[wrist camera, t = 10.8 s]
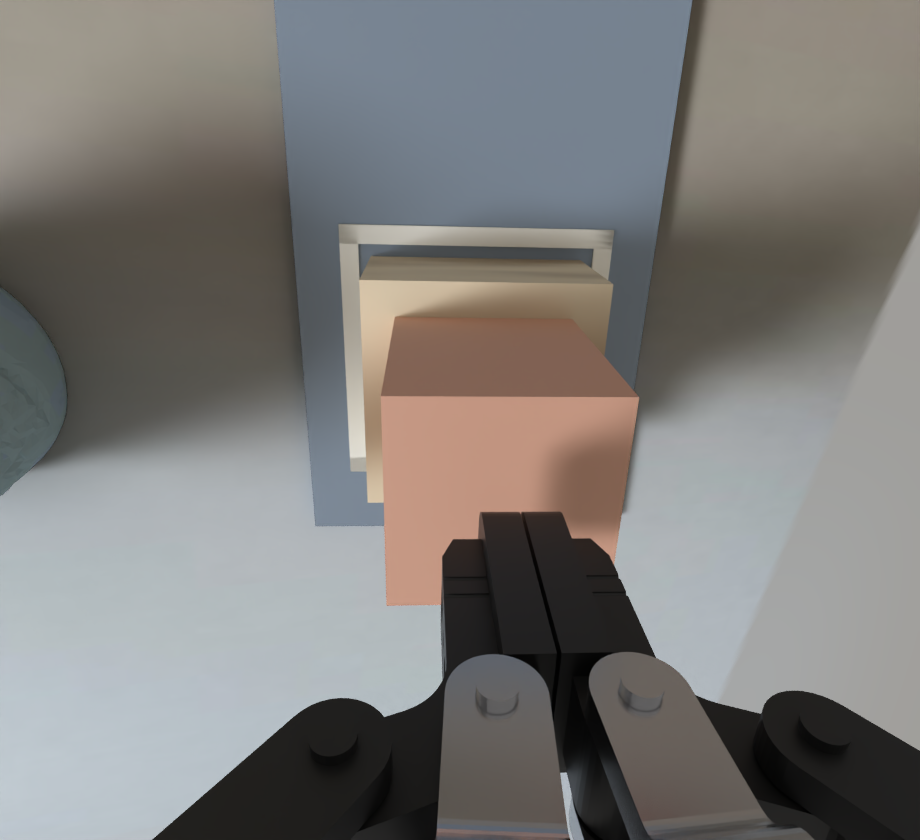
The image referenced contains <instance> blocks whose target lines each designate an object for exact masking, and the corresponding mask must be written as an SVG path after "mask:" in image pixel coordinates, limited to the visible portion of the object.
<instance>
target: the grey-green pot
mask: <svg viewBox="0 0 920 840" xmlns="http://www.w3.org/2000/svg"><path fill="white" fill-rule="evenodd" d="M66 410H67V390H66V382H65V377H64V372H63V368H62V365H61V362H60V359H59V356H58V354H57V352H56V350H55V348H54V346H53V344H52V343H51V341H50V339H49V337H48V336H47V334H46V332H45V331H44V330H43V328H42V327H41V326H40V324H39V323H38V322H37V321H36V319H35V318H34V317H33V316H32V315H31V314H30V313H29V312H28V311H27V310H26V308H25V307H24V306H23V305H22V304H21V303H20V302H19V301H17V300H16V299H15V298H14V297H13V296H11V295H10V294H9V293H8V292H7V291H5V290H4V289H2V288H1V287H0V496H1V495H3V494H4V493H5V492H6V491H7V490H8V489H10V487H11V486H12V485H13V483H15V482H16V481H17V480H19V479H20V478H21V477H22V476H23V475H25V474H26V473H27V472H28V471H29V470H30V469H31V468H32V467H33V466H34V465H35V464H36V463H37V462H38V461H39V460H40V459H42V458H43V457H44V455H45V454H46V453H47V452H48V450H49V449H50V448H51V446H52V445H53V443H54V442H55V440H56V438H57V436H58V434H59V431H60V429H61V427H62V425H63V422H64V418H65V414H66Z"/></svg>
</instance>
